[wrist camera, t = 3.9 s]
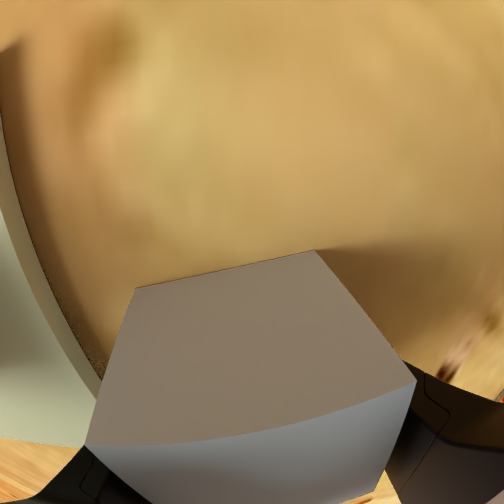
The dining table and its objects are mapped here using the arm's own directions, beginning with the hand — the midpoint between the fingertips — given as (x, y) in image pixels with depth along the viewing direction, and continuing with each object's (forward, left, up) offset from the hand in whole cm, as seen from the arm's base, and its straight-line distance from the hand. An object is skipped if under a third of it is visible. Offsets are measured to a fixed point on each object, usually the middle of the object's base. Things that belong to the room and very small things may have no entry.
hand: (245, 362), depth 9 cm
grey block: (0, 0, -1) cm, 1 cm away
